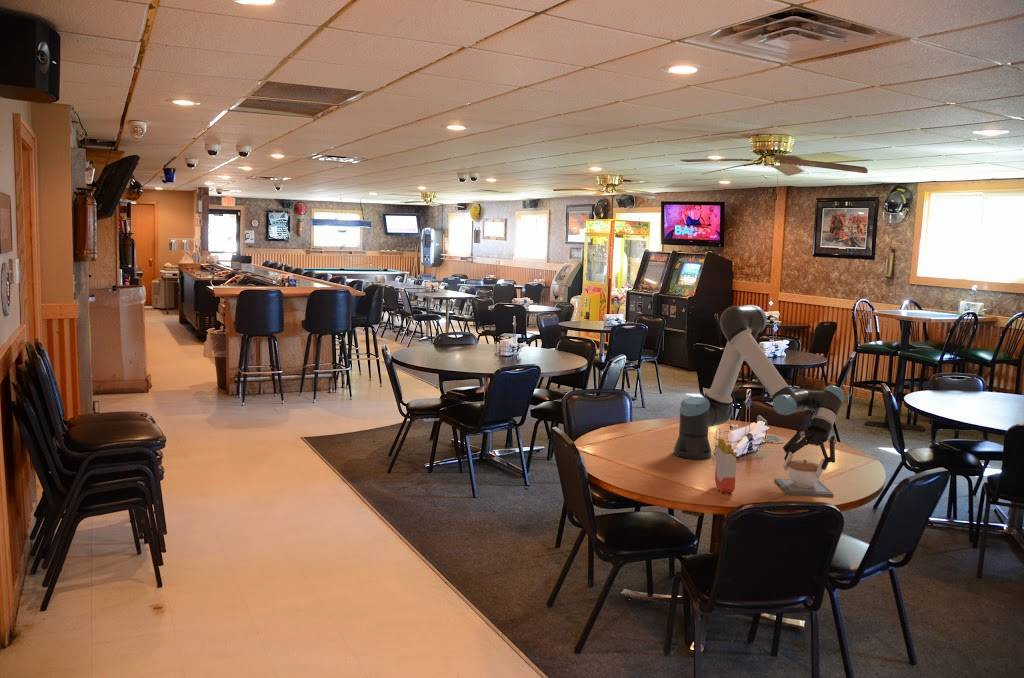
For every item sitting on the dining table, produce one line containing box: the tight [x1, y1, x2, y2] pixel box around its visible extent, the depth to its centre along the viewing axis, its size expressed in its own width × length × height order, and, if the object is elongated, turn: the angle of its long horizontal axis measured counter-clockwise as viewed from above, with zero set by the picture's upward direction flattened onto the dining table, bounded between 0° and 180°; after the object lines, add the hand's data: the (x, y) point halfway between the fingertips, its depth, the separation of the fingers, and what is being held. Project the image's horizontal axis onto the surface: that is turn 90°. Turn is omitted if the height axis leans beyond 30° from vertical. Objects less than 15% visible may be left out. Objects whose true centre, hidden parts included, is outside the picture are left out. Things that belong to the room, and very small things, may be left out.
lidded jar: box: [788, 459, 820, 488], centre depth 278 cm, size 11×11×9 cm
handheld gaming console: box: [756, 414, 784, 443], centre depth 348 cm, size 13×9×10 cm
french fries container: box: [714, 437, 738, 493], centre depth 273 cm, size 5×11×18 cm, turn 0°
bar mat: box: [774, 477, 834, 498], centre depth 278 cm, size 16×16×1 cm
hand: (800, 472), depth 276 cm, fingers open, 11 cm apart
